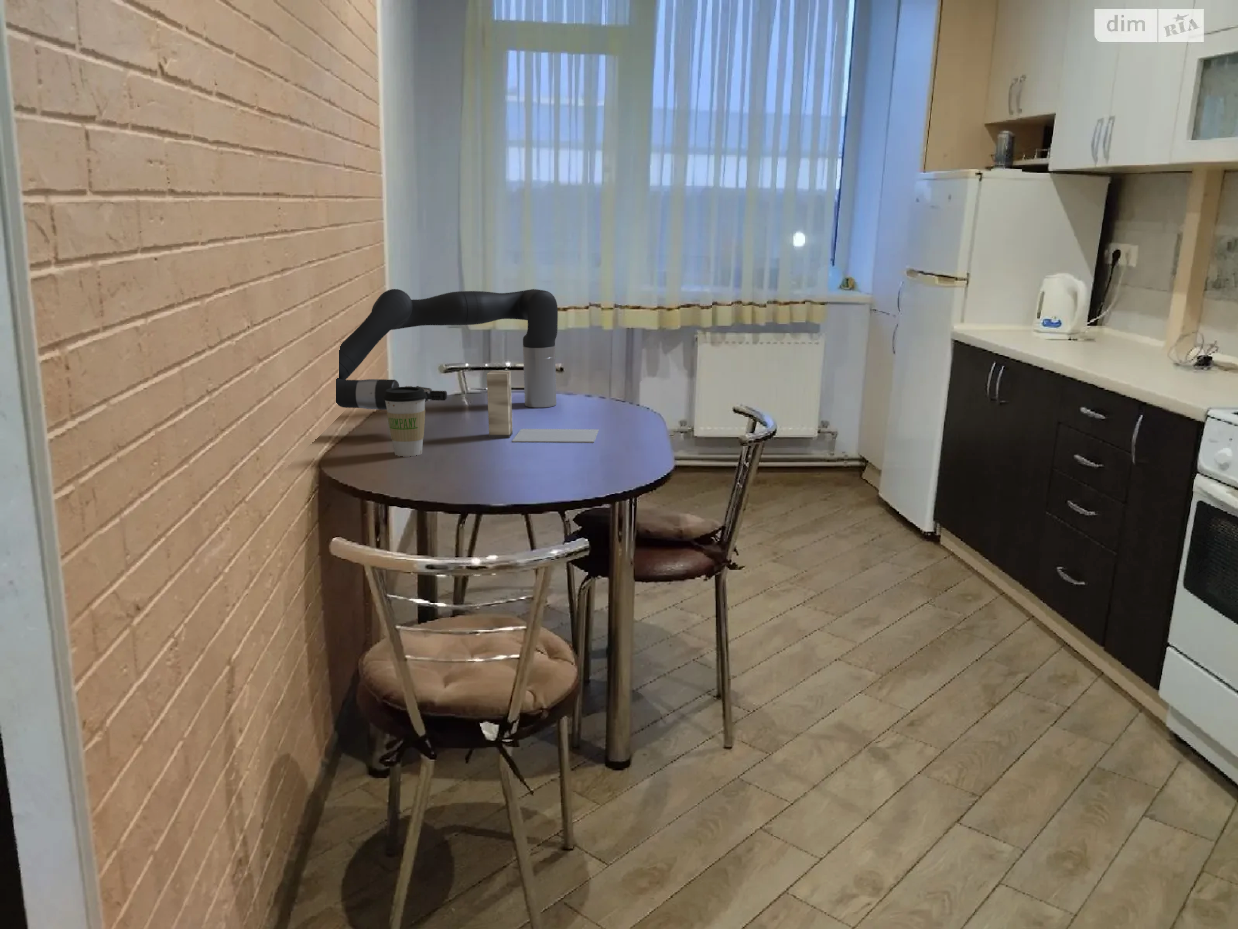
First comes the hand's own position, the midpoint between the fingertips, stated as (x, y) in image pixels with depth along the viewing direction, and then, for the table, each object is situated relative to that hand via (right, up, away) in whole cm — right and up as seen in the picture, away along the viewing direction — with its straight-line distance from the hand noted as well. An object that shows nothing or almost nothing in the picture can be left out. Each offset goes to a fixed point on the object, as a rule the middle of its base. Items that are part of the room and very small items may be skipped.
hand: (446, 395), depth 242 cm
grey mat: (+27, -10, +1) cm, 29 cm away
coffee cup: (-6, -15, -16) cm, 23 cm away
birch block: (+13, -10, +2) cm, 17 cm away
